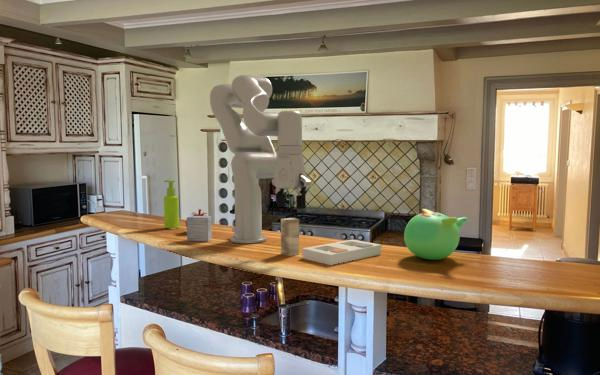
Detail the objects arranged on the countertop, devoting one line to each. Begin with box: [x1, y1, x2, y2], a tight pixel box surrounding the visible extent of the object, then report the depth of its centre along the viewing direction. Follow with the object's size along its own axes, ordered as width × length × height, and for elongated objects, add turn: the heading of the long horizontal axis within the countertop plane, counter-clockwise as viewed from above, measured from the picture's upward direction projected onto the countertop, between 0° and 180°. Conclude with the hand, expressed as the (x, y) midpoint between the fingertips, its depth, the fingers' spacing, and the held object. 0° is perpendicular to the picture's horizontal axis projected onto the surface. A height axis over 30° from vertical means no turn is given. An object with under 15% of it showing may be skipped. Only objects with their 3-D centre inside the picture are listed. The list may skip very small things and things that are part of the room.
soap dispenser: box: [163, 179, 180, 229], centre depth 199 cm, size 6×7×20 cm
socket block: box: [301, 239, 382, 266], centre depth 146 cm, size 12×22×3 cm, turn 131°
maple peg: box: [280, 217, 300, 257], centre depth 149 cm, size 4×4×11 cm
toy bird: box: [403, 208, 469, 261], centre depth 142 cm, size 18×17×15 cm
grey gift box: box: [186, 215, 213, 242], centre depth 172 cm, size 8×4×9 cm, turn 84°
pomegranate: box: [184, 208, 212, 228], centre depth 188 cm, size 10×10×9 cm
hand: (290, 207), depth 148 cm, fingers open, 9 cm apart
